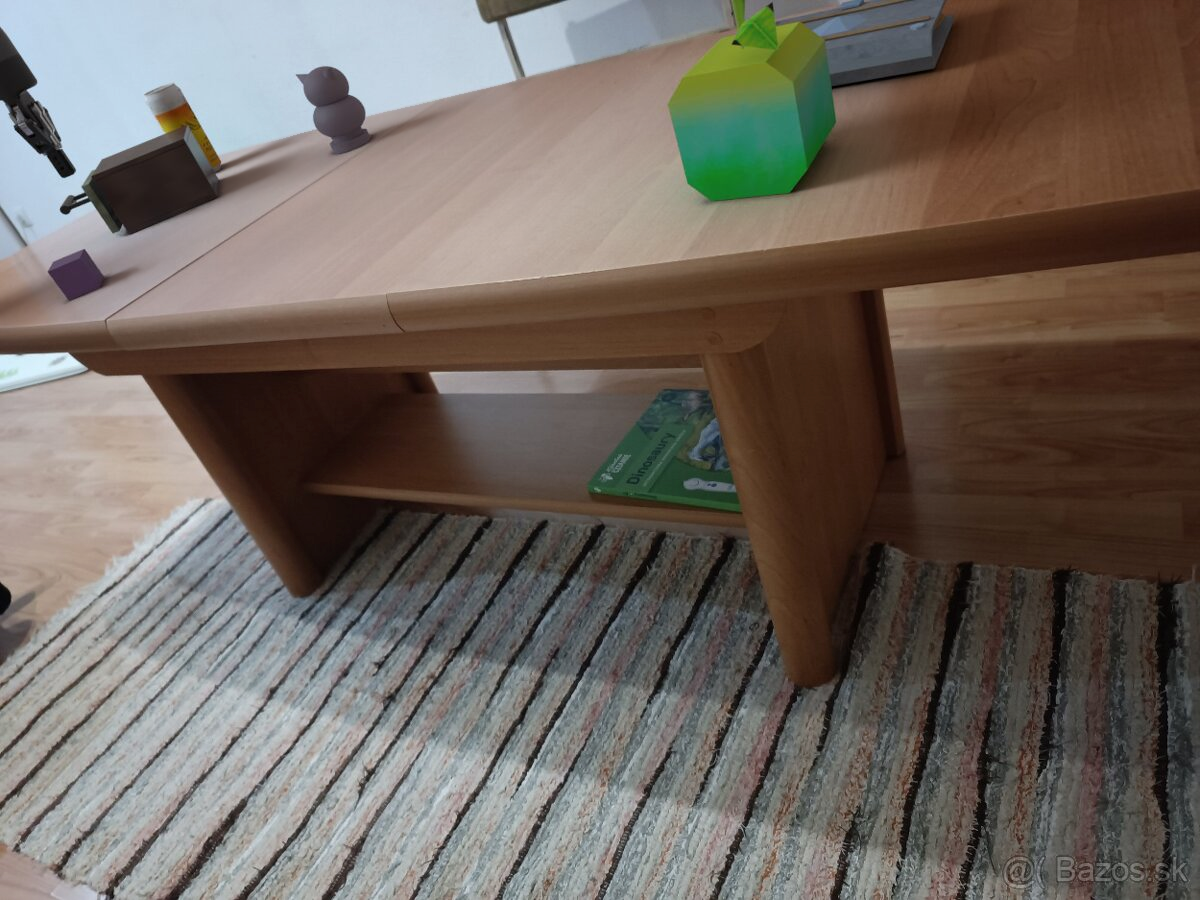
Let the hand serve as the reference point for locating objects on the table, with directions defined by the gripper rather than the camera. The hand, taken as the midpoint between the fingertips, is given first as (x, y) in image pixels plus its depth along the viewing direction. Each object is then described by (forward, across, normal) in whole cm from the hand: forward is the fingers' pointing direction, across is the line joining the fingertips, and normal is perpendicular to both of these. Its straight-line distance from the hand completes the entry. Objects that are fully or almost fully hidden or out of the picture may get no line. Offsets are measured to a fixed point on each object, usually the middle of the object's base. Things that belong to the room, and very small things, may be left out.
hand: (69, 175), depth 134 cm
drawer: (+9, 0, +6) cm, 11 cm away
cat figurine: (+10, +9, +41) cm, 43 cm away
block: (+10, +28, 0) cm, 30 cm away
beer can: (+10, -16, +16) cm, 25 cm away
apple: (+10, +87, +72) cm, 114 cm away
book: (+11, +69, +92) cm, 116 cm away
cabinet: (+10, 0, +11) cm, 15 cm away
